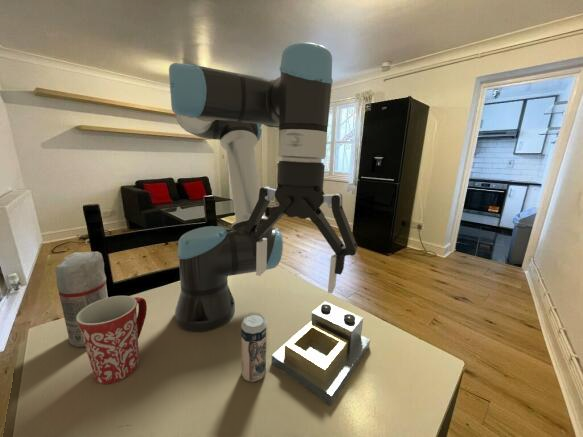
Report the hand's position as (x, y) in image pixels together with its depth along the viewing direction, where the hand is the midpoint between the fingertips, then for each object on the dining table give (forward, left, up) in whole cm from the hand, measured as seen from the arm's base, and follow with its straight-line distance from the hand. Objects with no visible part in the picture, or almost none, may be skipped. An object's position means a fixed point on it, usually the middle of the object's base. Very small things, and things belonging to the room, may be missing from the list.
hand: (294, 280), depth 44 cm
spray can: (-41, -22, -20) cm, 51 cm away
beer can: (-5, -5, -20) cm, 22 cm away
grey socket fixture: (+3, +8, -20) cm, 22 cm away
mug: (-27, -20, -20) cm, 39 cm away
